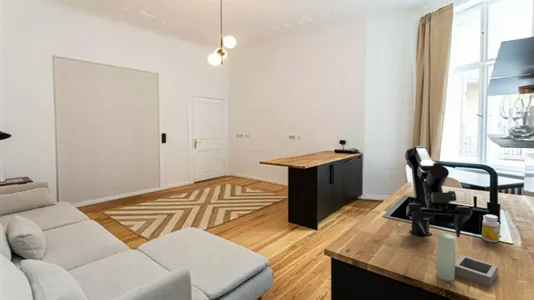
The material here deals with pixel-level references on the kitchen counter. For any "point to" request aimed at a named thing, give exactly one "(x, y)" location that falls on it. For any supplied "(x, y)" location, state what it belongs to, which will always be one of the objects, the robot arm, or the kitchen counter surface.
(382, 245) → the kitchen counter surface
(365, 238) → the kitchen counter surface
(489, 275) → the socket collar
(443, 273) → the sage peg
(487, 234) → the supplement bottle
